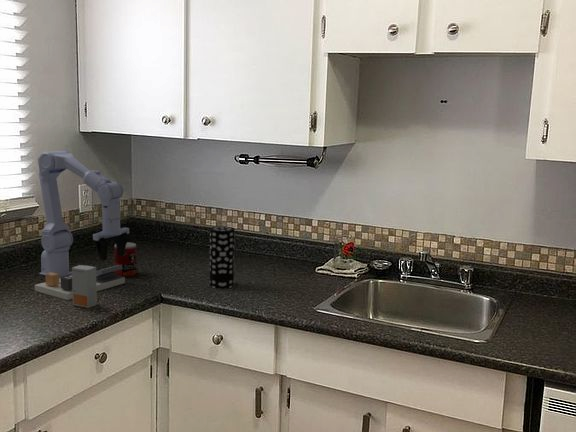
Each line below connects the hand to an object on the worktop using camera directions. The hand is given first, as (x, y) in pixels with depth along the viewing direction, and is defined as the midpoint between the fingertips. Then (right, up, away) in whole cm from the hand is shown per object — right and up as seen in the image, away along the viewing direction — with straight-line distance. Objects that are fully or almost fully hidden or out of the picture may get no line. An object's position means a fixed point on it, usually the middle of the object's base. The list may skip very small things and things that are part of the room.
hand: (112, 257), depth 210 cm
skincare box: (-3, -13, -20) cm, 24 cm away
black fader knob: (-11, -9, -12) cm, 19 cm away
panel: (-10, -10, -2) cm, 14 cm away
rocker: (-3, -5, +2) cm, 6 cm away
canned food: (+1, -7, +15) cm, 17 cm away
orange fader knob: (-17, -8, -8) cm, 21 cm away
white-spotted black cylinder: (+37, -10, +5) cm, 38 cm away
